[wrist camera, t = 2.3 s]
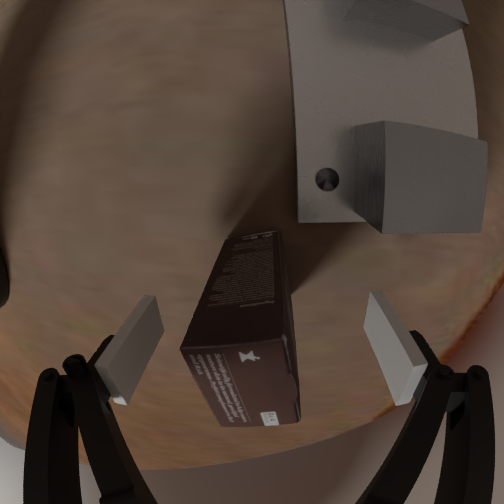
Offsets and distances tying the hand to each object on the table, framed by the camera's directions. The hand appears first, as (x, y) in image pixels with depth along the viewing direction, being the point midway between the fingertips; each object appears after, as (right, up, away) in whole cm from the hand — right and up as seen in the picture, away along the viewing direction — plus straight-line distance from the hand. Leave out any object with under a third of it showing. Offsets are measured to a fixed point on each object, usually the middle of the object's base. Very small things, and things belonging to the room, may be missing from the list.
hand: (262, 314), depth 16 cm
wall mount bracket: (+10, +17, -1) cm, 19 cm away
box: (0, +2, +6) cm, 6 cm away
